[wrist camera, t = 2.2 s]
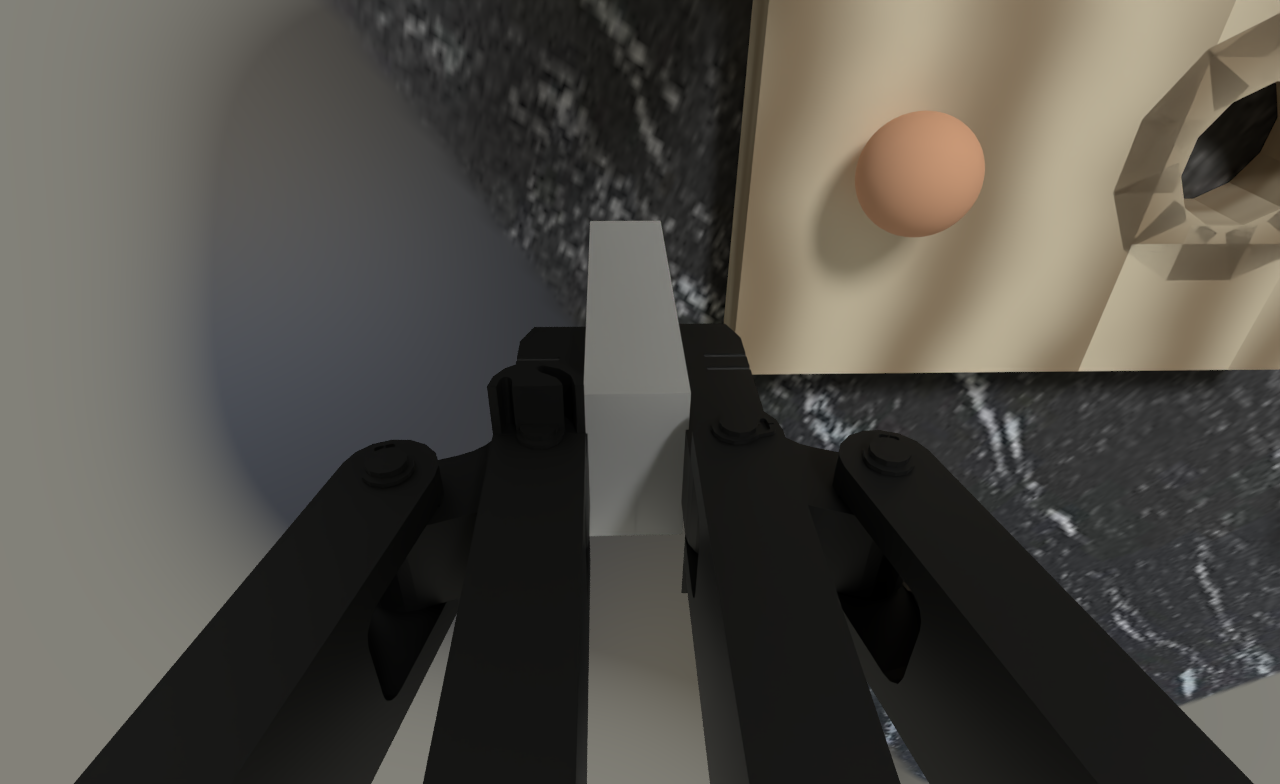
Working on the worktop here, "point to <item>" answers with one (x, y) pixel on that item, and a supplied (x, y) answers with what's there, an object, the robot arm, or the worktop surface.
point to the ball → (920, 174)
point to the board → (1007, 189)
